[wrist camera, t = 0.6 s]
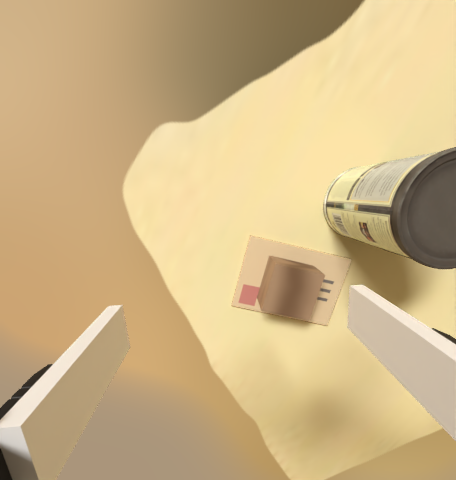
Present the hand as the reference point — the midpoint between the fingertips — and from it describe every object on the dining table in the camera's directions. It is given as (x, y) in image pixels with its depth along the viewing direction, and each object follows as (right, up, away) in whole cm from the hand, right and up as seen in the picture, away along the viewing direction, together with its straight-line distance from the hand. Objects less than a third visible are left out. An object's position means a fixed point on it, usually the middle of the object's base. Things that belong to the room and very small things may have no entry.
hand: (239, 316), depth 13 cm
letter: (+9, -2, +22) cm, 24 cm away
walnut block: (+8, -2, +21) cm, 23 cm away
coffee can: (+18, +10, +20) cm, 29 cm away
